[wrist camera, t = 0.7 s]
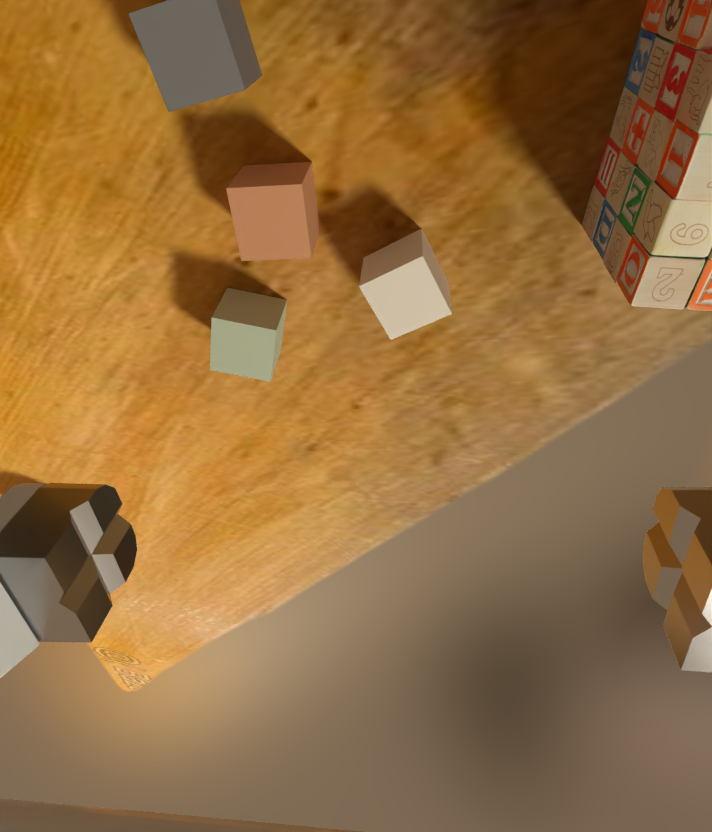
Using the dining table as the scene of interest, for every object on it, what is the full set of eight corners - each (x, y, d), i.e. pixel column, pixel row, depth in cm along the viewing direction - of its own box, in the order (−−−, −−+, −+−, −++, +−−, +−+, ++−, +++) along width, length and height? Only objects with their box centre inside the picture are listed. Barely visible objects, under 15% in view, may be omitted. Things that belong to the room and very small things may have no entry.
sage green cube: (227, 287, 47) (211, 317, 43) (287, 299, 47) (276, 330, 43) (225, 337, 50) (210, 370, 46) (281, 348, 50) (270, 381, 47)
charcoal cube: (159, 6, 35) (128, 13, 31) (233, -19, 34) (211, -15, 30) (192, 95, 38) (168, 111, 34) (262, 74, 37) (245, 89, 33)
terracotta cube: (243, 165, 41) (226, 188, 37) (312, 161, 40) (301, 184, 36) (256, 233, 44) (241, 260, 40) (320, 230, 43) (311, 257, 40)
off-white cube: (363, 257, 44) (358, 286, 41) (421, 228, 43) (422, 255, 39) (392, 307, 47) (390, 340, 43) (448, 282, 45) (451, 313, 41)
